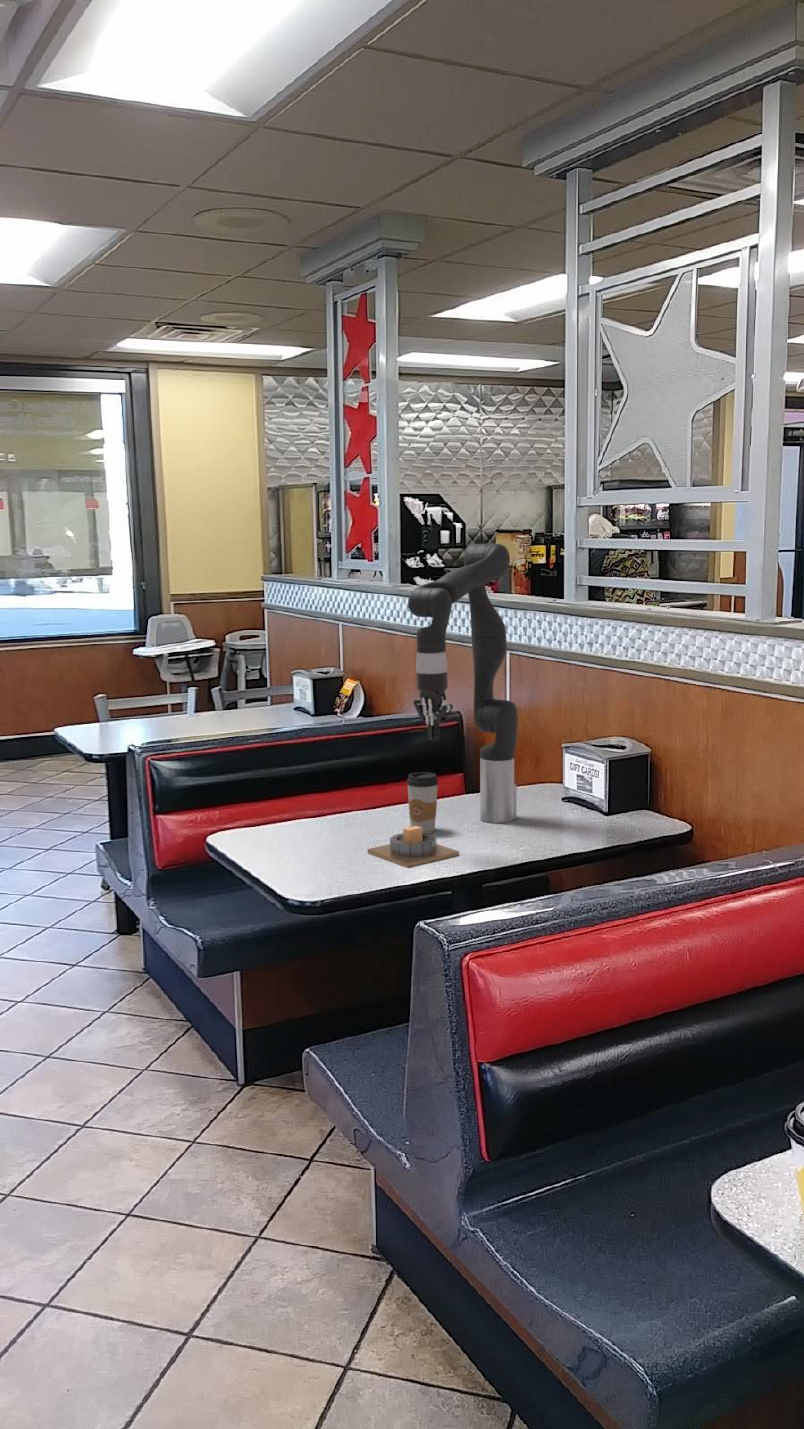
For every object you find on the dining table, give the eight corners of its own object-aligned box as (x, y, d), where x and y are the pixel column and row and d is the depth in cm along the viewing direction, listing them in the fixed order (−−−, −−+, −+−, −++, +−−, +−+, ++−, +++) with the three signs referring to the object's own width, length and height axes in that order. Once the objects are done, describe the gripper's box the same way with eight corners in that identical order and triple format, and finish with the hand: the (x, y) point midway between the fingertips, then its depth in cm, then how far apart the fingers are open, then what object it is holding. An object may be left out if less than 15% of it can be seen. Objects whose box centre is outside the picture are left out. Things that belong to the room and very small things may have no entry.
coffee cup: (401, 832, 295) (401, 776, 292) (416, 825, 302) (415, 770, 300) (429, 835, 291) (429, 779, 289) (443, 828, 298) (443, 773, 296)
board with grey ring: (418, 841, 285) (418, 826, 285) (459, 855, 273) (459, 839, 272) (367, 853, 276) (367, 837, 275) (407, 867, 263) (407, 851, 263)
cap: (414, 845, 279) (414, 823, 278) (431, 850, 274) (431, 828, 273) (394, 849, 275) (394, 827, 274) (410, 855, 270) (410, 832, 269)
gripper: (461, 671, 269) (462, 741, 272) (426, 666, 280) (428, 733, 283) (437, 674, 265) (439, 745, 268) (403, 669, 275) (405, 738, 278)
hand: (433, 739), depth 275 cm, fingers closed
